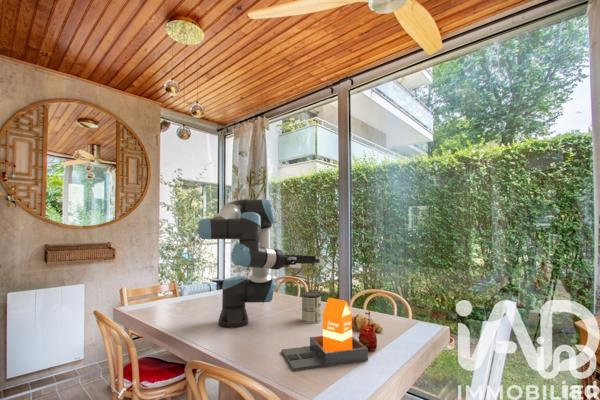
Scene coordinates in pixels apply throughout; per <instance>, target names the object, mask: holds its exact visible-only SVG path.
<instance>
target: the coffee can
mask: <svg viewBox="0 0 600 400" xmlns="http://www.w3.org/2000/svg"><path fill="white" fill-rule="evenodd" d="M321 296H322V293H320V292H318V291H305V292H302V293H301V321H302V322H303V323H305V324H309V325H310V324H318V323H319V324H320V323H321V322H322V307H321V306H322V304H321V303H322V298H321Z"/></svg>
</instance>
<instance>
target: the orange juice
mask: <svg viewBox="0 0 600 400" xmlns="http://www.w3.org/2000/svg"><path fill="white" fill-rule="evenodd" d="M352 317H353V313H352V310H351V309H350V307H349V304H348V302H347V300H343V299H338V298H331V297H327V300H326V303H325V307H324V309H323V312H322V336H323V349H324V350H325V351H326V352H332V351H340V350H348V349H352V337H353V329H352Z"/></svg>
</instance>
